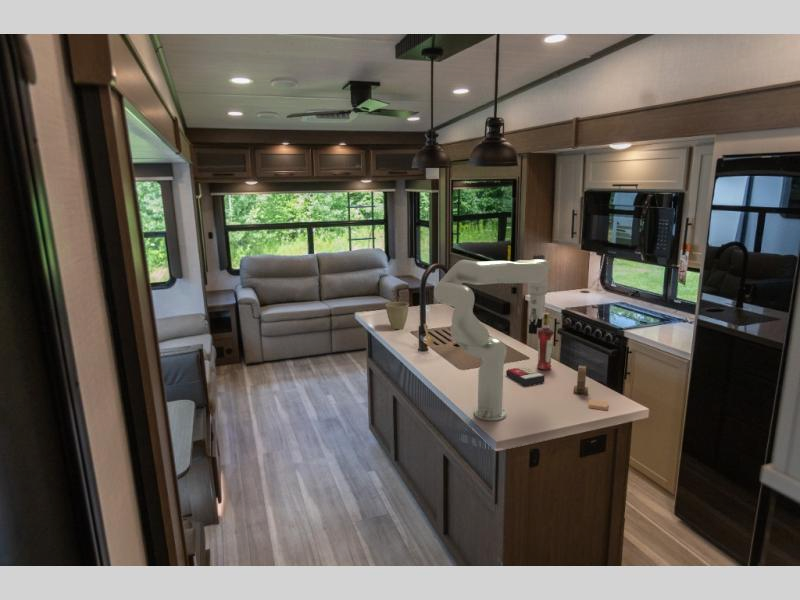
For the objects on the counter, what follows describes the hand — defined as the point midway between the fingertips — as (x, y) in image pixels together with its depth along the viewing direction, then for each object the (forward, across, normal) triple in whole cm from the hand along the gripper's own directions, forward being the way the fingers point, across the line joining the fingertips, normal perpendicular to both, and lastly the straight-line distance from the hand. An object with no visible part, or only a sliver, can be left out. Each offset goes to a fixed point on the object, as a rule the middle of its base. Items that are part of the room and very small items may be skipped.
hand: (535, 330), depth 207 cm
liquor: (+30, +38, +2) cm, 49 cm away
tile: (+29, +6, -26) cm, 40 cm away
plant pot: (+30, +75, +101) cm, 129 cm away
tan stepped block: (+30, +14, -18) cm, 38 cm away
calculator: (+30, +21, +8) cm, 38 cm away
